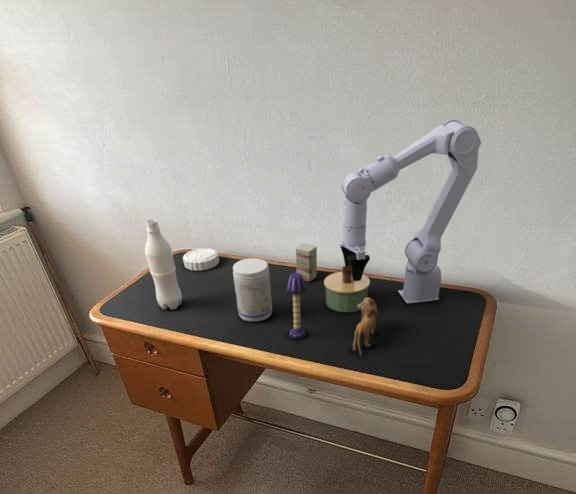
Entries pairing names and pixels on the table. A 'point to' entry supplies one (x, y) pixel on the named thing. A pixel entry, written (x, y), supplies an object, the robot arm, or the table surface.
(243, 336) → the table surface
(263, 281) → the supplement tub
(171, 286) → the water bottle
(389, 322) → the table surface
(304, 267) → the beige rectangular box
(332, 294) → the canister
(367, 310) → the lion figurine
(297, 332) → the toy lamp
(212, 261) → the mooncake
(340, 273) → the lid
